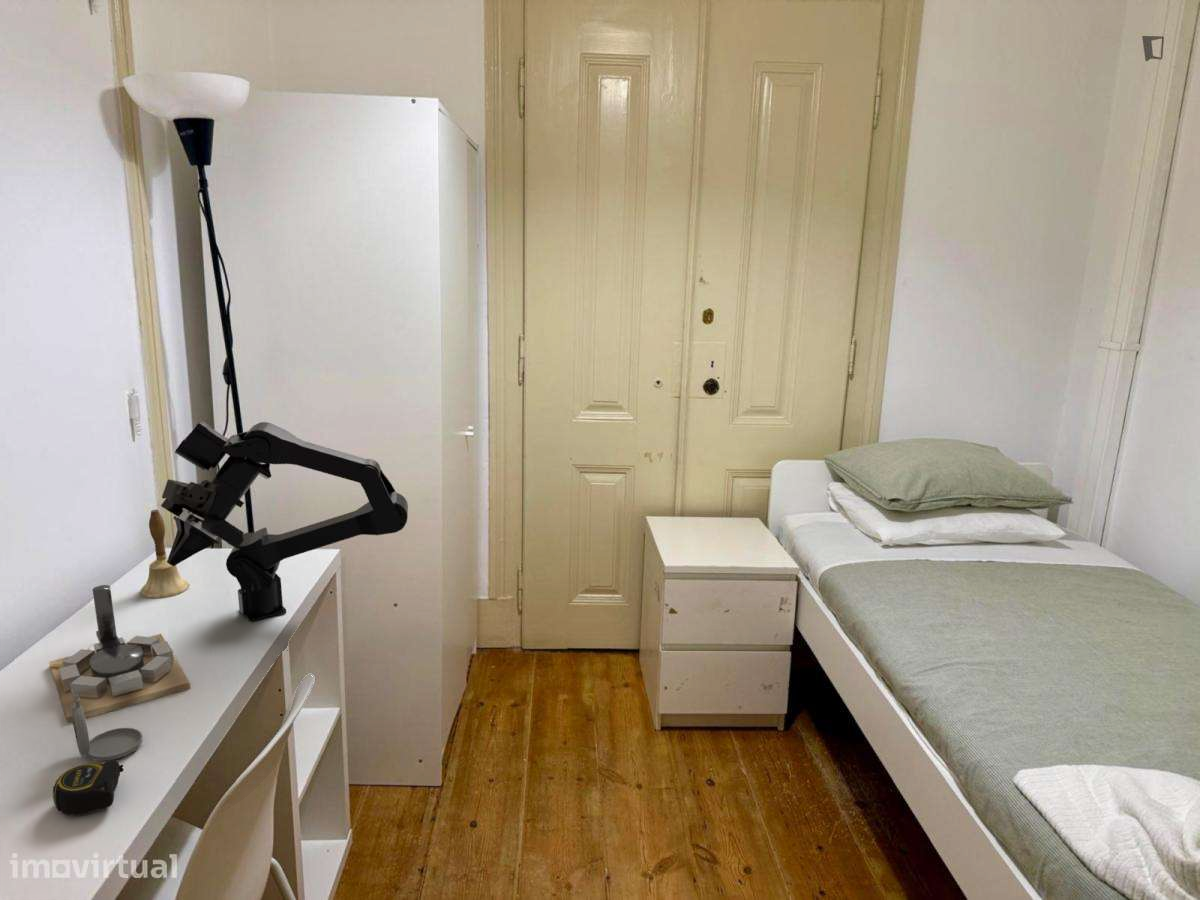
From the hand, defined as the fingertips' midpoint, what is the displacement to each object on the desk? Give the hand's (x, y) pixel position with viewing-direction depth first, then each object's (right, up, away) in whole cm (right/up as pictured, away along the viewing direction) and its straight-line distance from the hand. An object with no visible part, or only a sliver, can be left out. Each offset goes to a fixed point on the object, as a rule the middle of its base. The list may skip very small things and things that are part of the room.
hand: (170, 564), depth 141 cm
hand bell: (-12, -8, +21) cm, 26 cm away
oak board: (-3, -16, -9) cm, 19 cm away
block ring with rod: (-4, -15, -9) cm, 18 cm away
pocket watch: (+5, -21, -27) cm, 35 cm away
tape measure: (+9, -24, -36) cm, 45 cm away
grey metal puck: (-3, -16, -10) cm, 19 cm away
